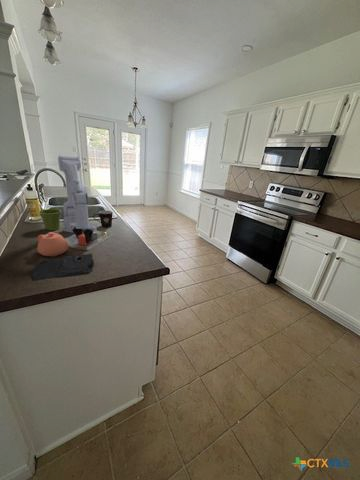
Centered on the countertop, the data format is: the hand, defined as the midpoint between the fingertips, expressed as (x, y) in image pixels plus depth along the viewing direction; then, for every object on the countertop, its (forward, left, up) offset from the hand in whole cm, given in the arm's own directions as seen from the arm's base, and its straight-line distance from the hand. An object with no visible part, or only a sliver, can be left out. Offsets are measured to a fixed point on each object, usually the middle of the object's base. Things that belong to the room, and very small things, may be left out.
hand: (84, 242), depth 104 cm
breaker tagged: (0, +7, -1) cm, 7 cm away
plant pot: (-34, +15, -2) cm, 38 cm away
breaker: (-9, +14, -1) cm, 17 cm away
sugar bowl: (-8, -12, -3) cm, 15 cm away
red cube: (0, 0, -1) cm, 1 cm away
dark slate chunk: (+7, -22, -3) cm, 23 cm away
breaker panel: (-4, +8, -2) cm, 9 cm away
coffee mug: (-10, +34, -2) cm, 36 cm away
